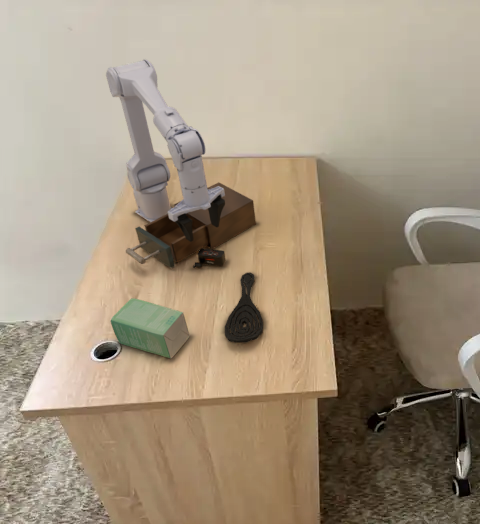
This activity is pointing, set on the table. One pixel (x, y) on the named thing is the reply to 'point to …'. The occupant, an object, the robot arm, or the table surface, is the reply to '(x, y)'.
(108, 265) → the table surface
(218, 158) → the table surface
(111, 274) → the table surface
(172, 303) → the table surface
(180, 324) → the box
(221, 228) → the cabinet
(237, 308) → the hairbrush
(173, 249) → the drawer
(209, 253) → the wireless earbuds
